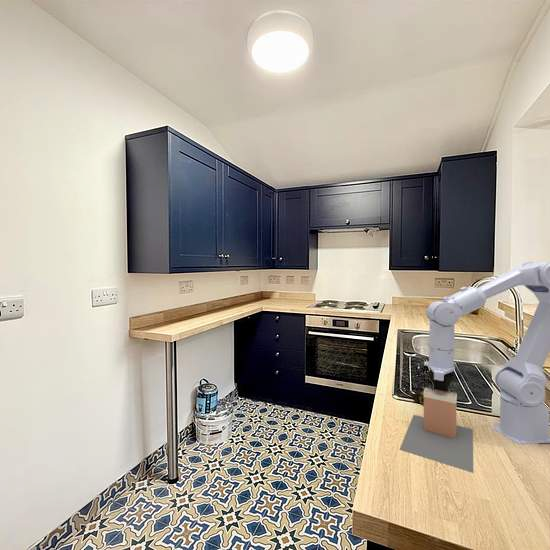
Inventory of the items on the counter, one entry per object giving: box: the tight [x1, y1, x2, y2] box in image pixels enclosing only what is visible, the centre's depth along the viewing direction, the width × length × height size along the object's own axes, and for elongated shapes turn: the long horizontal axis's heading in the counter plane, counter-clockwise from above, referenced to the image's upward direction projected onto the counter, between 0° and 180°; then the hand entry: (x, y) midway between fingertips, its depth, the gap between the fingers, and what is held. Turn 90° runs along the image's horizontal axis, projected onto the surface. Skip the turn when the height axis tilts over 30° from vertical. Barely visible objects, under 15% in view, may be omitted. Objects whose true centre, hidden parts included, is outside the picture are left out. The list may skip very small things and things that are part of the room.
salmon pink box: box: [423, 387, 458, 438], centre depth 75 cm, size 3×7×10 cm, turn 57°
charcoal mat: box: [399, 414, 474, 474], centre depth 72 cm, size 20×14×1 cm
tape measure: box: [411, 389, 424, 406], centre depth 92 cm, size 7×7×4 cm
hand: (440, 399), depth 77 cm, fingers closed
